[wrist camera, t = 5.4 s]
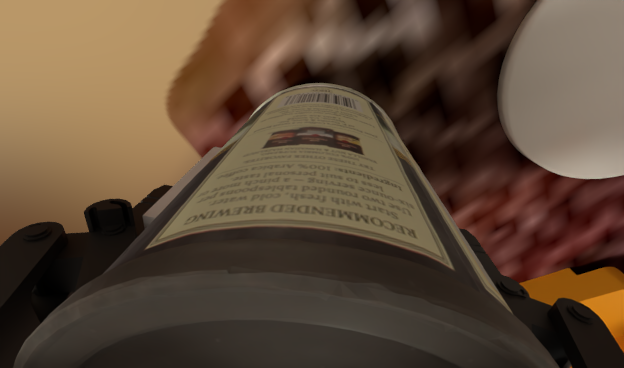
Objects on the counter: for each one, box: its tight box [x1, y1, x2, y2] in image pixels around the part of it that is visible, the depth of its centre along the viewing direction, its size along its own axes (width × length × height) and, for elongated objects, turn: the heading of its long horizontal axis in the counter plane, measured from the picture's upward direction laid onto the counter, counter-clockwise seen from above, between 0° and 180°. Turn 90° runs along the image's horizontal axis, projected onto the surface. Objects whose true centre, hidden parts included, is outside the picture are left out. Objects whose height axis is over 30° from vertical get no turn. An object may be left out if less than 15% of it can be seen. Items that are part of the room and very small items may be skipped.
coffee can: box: [13, 83, 560, 368], centre depth 12 cm, size 10×10×14 cm
